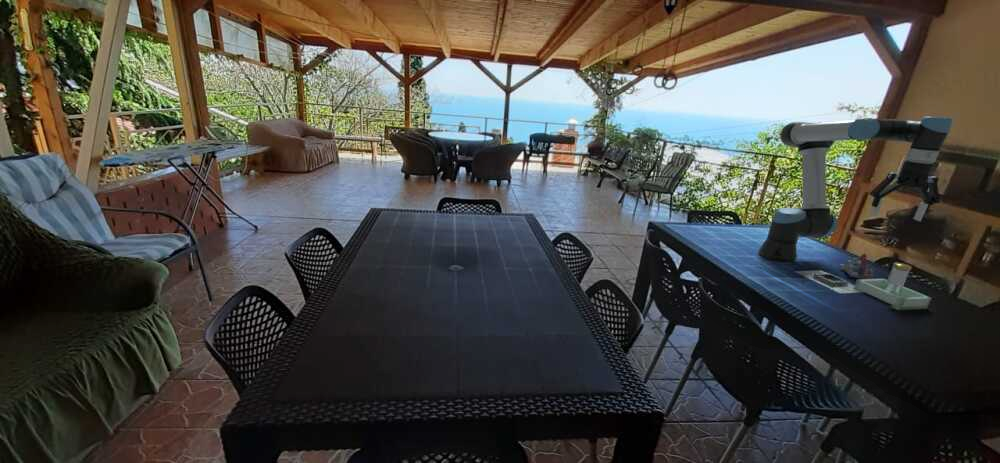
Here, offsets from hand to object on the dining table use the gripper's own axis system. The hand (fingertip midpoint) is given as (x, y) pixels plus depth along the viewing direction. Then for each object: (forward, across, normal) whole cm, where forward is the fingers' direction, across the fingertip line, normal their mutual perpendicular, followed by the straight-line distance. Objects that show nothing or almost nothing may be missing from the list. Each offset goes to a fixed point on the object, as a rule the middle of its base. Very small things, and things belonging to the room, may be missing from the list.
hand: (894, 217), depth 146 cm
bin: (+30, +4, -9) cm, 31 cm away
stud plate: (+30, -12, -1) cm, 33 cm away
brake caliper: (+31, +2, +11) cm, 33 cm away
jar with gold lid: (+28, +3, -9) cm, 30 cm away
